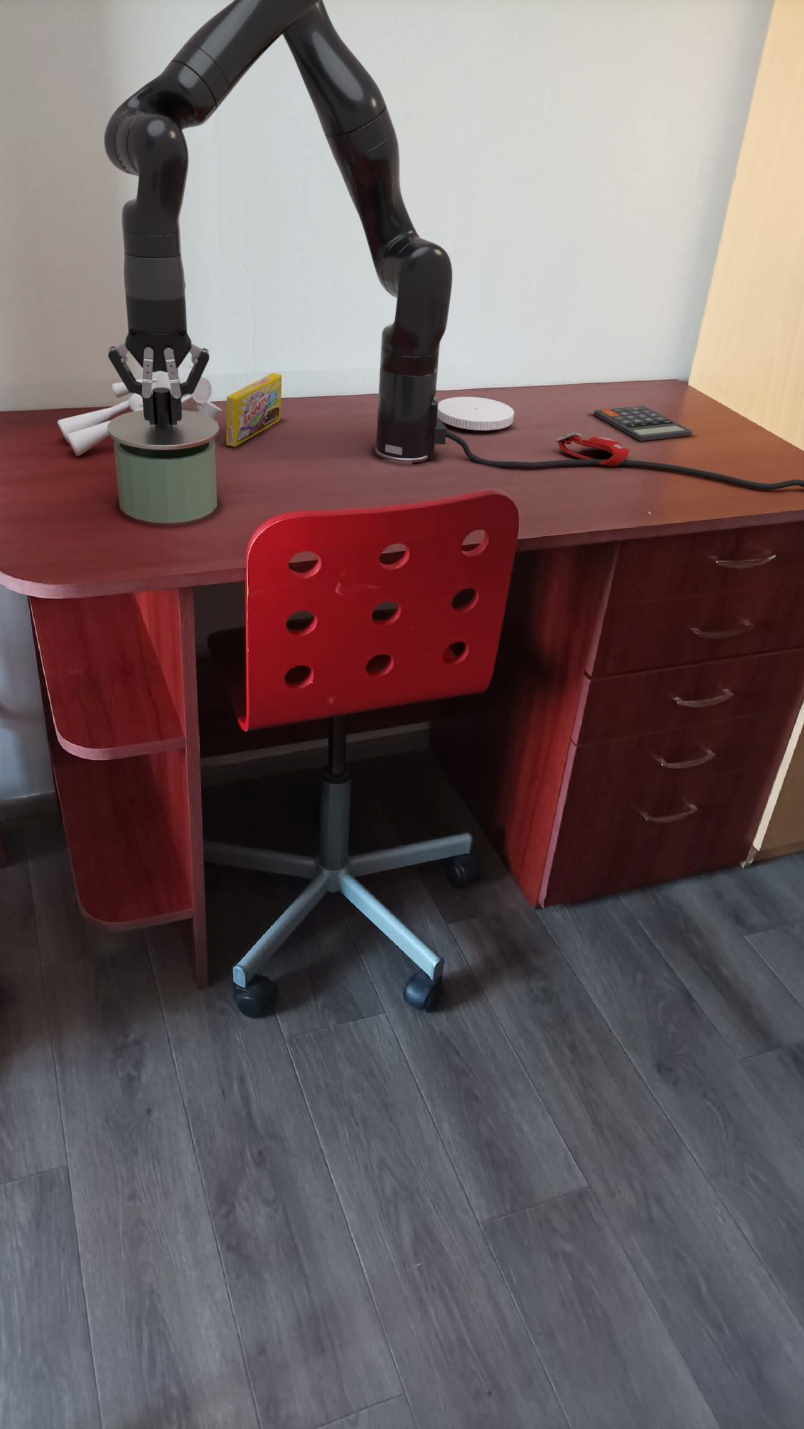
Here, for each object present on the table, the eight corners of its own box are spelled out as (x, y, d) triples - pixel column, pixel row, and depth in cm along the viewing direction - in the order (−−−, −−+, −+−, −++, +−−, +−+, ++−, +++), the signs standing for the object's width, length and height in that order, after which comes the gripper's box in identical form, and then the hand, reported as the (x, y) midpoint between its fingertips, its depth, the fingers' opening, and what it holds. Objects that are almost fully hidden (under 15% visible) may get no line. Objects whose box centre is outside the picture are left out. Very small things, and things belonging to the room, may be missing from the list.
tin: (215, 488, 156) (213, 426, 151) (218, 526, 145) (216, 460, 140) (122, 488, 154) (116, 425, 148) (118, 527, 143) (111, 461, 137)
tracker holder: (612, 439, 183) (644, 445, 174) (606, 465, 184) (637, 472, 175) (554, 426, 178) (583, 432, 169) (547, 453, 179) (577, 459, 170)
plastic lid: (525, 422, 191) (527, 408, 190) (489, 441, 181) (491, 427, 180) (459, 405, 197) (461, 391, 196) (421, 423, 187) (422, 409, 186)
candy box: (236, 448, 170) (235, 398, 166) (225, 446, 171) (223, 396, 166) (282, 421, 183) (282, 373, 178) (271, 418, 184) (271, 371, 179)
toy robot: (104, 505, 163) (245, 440, 169) (69, 435, 155) (219, 369, 160) (75, 464, 177) (207, 405, 182) (42, 397, 168) (181, 337, 174)
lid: (217, 417, 151) (216, 374, 147) (221, 454, 139) (219, 408, 135) (111, 416, 148) (107, 372, 145) (104, 454, 136) (100, 407, 133)
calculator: (643, 404, 201) (692, 430, 190) (643, 409, 202) (691, 435, 191) (594, 409, 197) (641, 435, 186) (593, 414, 197) (640, 441, 186)
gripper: (97, 295, 129) (109, 432, 138) (211, 299, 131) (215, 433, 141) (100, 282, 135) (112, 414, 144) (209, 285, 137) (214, 414, 147)
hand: (163, 422), depth 143 cm, fingers closed on lid, 2 cm apart
